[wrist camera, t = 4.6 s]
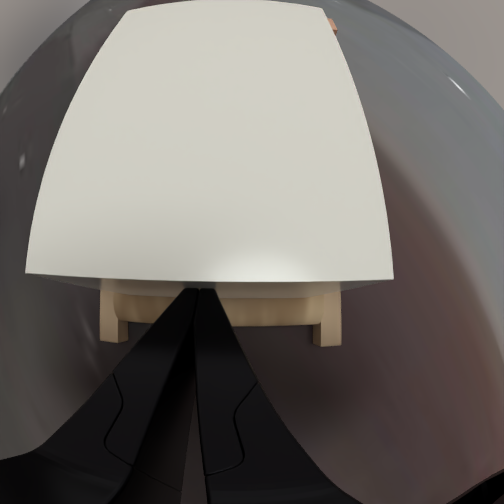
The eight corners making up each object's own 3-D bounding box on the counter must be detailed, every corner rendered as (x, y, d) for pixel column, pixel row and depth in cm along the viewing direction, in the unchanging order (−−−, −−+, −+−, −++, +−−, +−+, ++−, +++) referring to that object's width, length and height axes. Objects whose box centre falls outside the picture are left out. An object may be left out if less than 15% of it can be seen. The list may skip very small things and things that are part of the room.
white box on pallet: (306, 297, 13) (393, 279, 6) (129, 295, 13) (25, 272, 5) (292, 107, 16) (321, 8, 8) (156, 107, 15) (127, 11, 8)
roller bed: (331, 342, 16) (347, 346, 13) (111, 338, 15) (92, 341, 12) (306, 79, 20) (312, 59, 17) (151, 79, 19) (146, 59, 17)
